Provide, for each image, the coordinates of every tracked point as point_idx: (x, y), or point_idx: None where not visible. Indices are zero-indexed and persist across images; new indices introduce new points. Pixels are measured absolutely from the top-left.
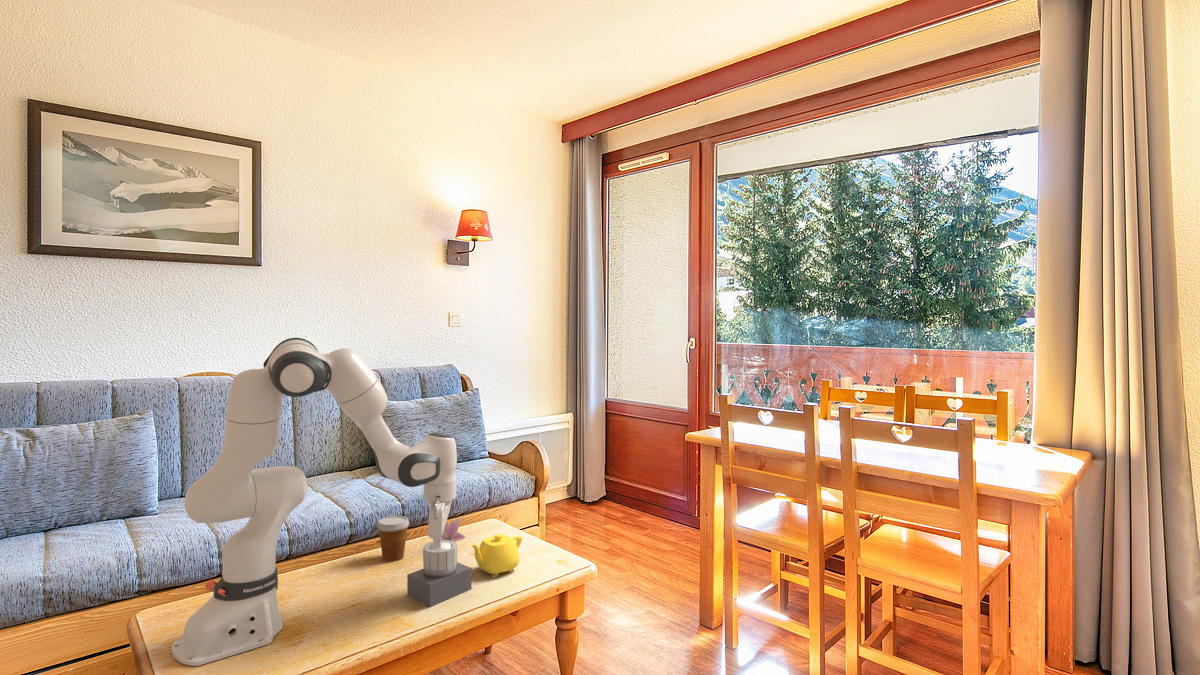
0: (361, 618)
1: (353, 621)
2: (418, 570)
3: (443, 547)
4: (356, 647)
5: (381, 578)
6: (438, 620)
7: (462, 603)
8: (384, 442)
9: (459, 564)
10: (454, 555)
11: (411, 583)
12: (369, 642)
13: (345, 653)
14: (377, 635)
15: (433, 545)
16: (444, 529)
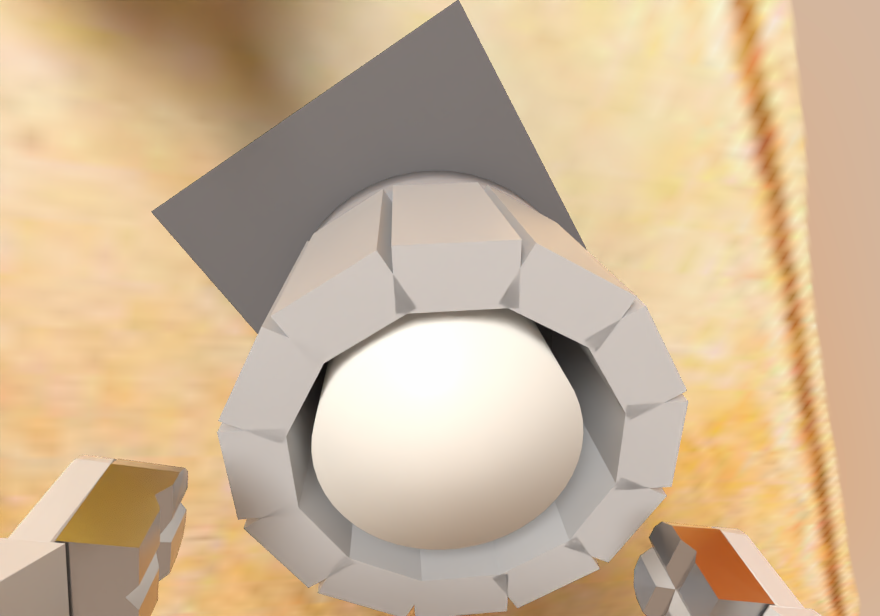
0: None
1: (583, 601)
2: None
3: (528, 427)
4: (794, 576)
5: None
6: (769, 289)
7: (638, 127)
8: None
9: (327, 121)
10: (585, 252)
11: None
12: (785, 544)
13: (812, 600)
14: (749, 524)
15: (408, 530)
16: (101, 524)
